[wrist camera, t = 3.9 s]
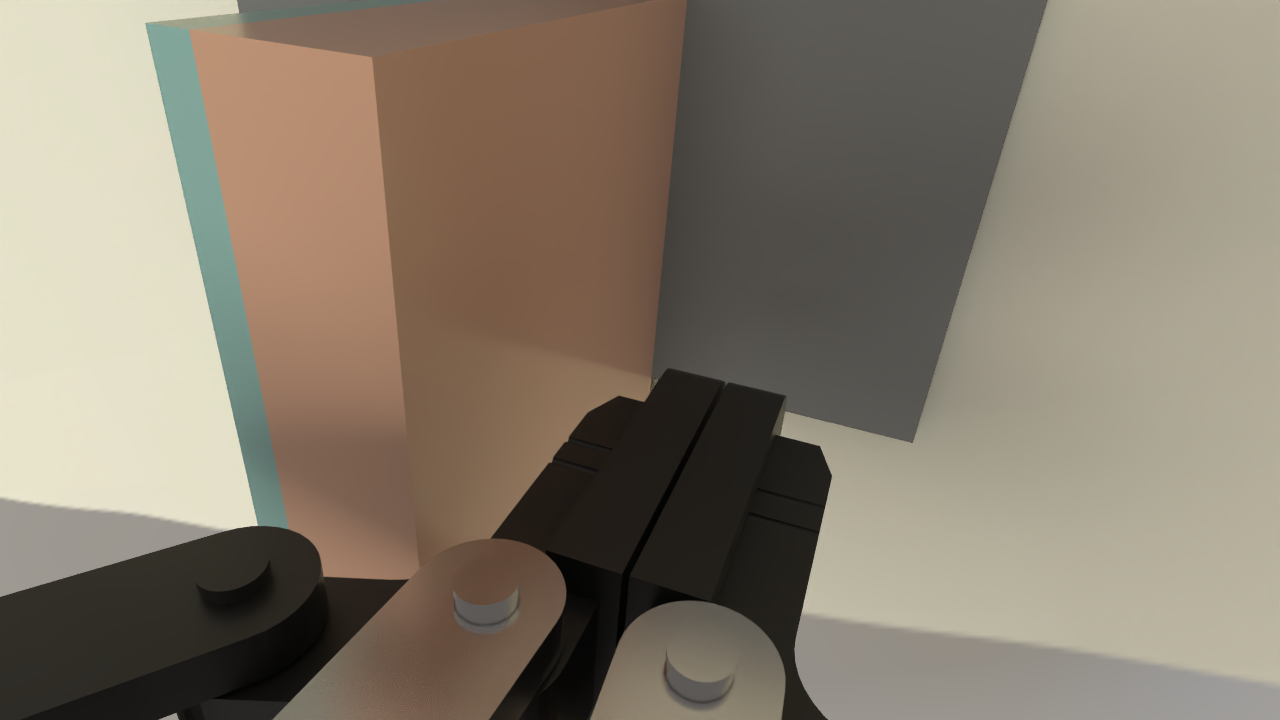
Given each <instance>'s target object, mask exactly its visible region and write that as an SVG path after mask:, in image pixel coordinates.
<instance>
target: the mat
mask: <svg viewBox="0 0 1280 720" xmlns="http://www.w3.org/2000/svg"><path fill="white" fill-rule="evenodd" d="M352 1H362V0H237V2H238V8H239V13H246V12H256V11H265V10H275V9H285V8H294V7H304V6H314V5H323V4H333V3H343V2H352ZM1046 3H1047V0H687V7H686V17H685V28H684V38H683V49H682V60H681V70H680V81H679V91H678V102H677V112H676V123H675V134H674V144H673V155H672V165H671V176H670V186H669V197H668V208H667V218H666V229H665V239H664V250H663V261H662V271H661V282H660V292H659V303H658V313H657V324H656V335H655V345H654V356H653V366H652V377H651V378H654V379H658V380H659V379H660V378H661V376H662V375H663V373H664V372H665V370H666V369H668V368H672V369H676V370H680V371H685V372H689V373H693V374H697V375H701V376H705V377H710V378H714V379H718V380H722V381H725V383H726V385H727V384H728V382H731V383H735V384H740V385H744V386H748V387H752V388H756V389H761V390H765V391H769V392H773V393H777V394H781V395H786V396H787V402H786V408H785V411H787V412H791V413H795V414H799V415H803V416H807V417H811V418H815V419H819V420H823V421H827V422H831V423H835V424H839V425H843V426H847V427H851V428H855V429H859V430H863V431H867V432H871V433H875V434H879V435H883V436H887V437H891V438H895V439H899V440H903V441H907V442H911V443H913V440H914V436H915V433H916V430H917V426H918V423H919V420H920V417H921V413H922V410H923V407H924V403H925V400H926V397H927V394H928V390H929V387H930V384H931V380H932V377H933V374H934V371H935V367H936V364H937V361H938V358H939V354H940V351H941V348H942V344H943V341H944V338H945V335H946V331H947V328H948V325H949V321H950V318H951V315H952V312H953V308H954V305H955V302H956V298H957V295H958V292H959V289H960V285H961V282H962V279H963V276H964V272H965V269H966V266H967V262H968V259H969V256H970V253H971V249H972V246H973V243H974V239H975V236H976V233H977V230H978V226H979V223H980V220H981V216H982V213H983V210H984V207H985V203H986V200H987V197H988V194H989V190H990V187H991V184H992V180H993V177H994V174H995V171H996V167H997V164H998V161H999V157H1000V154H1001V151H1002V148H1003V144H1004V141H1005V138H1006V134H1007V131H1008V128H1009V125H1010V121H1011V118H1012V115H1013V111H1014V108H1015V105H1016V102H1017V98H1018V95H1019V92H1020V89H1021V85H1022V82H1023V79H1024V75H1025V72H1026V69H1027V66H1028V62H1029V59H1030V56H1031V52H1032V49H1033V46H1034V43H1035V39H1036V36H1037V33H1038V29H1039V26H1040V23H1041V20H1042V16H1043V13H1044V10H1045V7H1046Z"/></svg>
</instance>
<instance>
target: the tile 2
mask: <svg viewBox="0 0 1280 720" xmlns="http://www.w3.org/2000/svg"><path fill="white" fill-rule="evenodd" d="M686 7H687V0H362V1H352V2H343V3H333V4H323V5H314V6H304V7H294V8H285V9H275V10H265V11H256V12H246V13H237V14H227V15H217V16H208V17H198V18H188V19H179V20H169V21H159V22H150V23H145V24H146V29H147V33H148V37H149V42H150V46H151V51H152V55H153V60H154V64H155V69H156V73H157V78H158V82H159V86H160V91H161V95H162V100H163V104H164V109H165V113H166V118H167V122H168V126H169V131H170V135H171V140H172V144H173V149H174V153H175V158H176V162H177V166H178V171H179V175H180V180H181V184H182V189H183V193H184V198H185V202H186V207H187V211H188V215H189V220H190V224H191V229H192V233H193V238H194V242H195V247H196V251H197V255H198V260H199V264H200V269H201V273H202V278H203V282H204V287H205V291H206V295H207V300H208V304H209V309H210V313H211V318H212V322H213V327H214V331H215V336H216V340H217V344H218V349H219V353H220V358H221V362H222V367H223V371H224V376H225V380H226V384H227V389H228V393H229V398H230V402H231V407H232V411H233V416H234V420H235V425H236V429H237V433H238V438H239V442H240V447H241V451H242V456H243V460H244V465H245V469H246V473H247V478H248V482H249V487H250V491H251V496H252V500H253V505H254V509H255V514H256V518H257V522H258V526H272V527H280V528H285V529H289V530H292V531H295V532H297V533H300V534H301V535H303V536H304V537H306V538H307V539H309V540H310V541H311V542H312V543H313V544H314V545H315V547H316V549H317V551H318V552H319V555H320V559H321V564H322V569H323V575H324V577H343V578H365V579H387V580H402V579H410V578H411V577H412V576H413V575H414V574H415V573H416V572H417V571H418V570H419V569H420V568H421V567H422V566H423V565H424V564H425V563H427V562H428V561H429V560H430V559H431V558H433V557H434V556H436V555H437V554H439V553H440V552H442V551H444V550H446V549H448V548H451V547H453V546H455V545H458V544H461V543H465V542H469V541H474V540H479V539H490V538H491V537H492V536H493V534H494V533H495V532H496V530H497V529H498V528H499V526H500V525H501V524H502V523H503V521H504V520H505V519H506V517H507V516H508V515H509V514H510V512H511V511H512V510H513V508H514V507H515V506H516V504H517V503H518V502H519V501H520V499H521V498H522V497H523V495H524V494H525V493H526V491H527V490H528V489H529V488H530V486H531V485H532V484H533V482H534V481H535V480H536V479H537V477H538V476H539V475H540V473H541V472H542V471H543V469H544V468H545V467H546V466H547V464H548V463H549V462H550V463H552V460H553V456H554V455H555V454H556V453H557V451H558V450H559V449H560V447H561V446H562V445H563V444H564V442H568V439H569V436H570V434H571V433H572V432H573V431H574V429H575V428H576V427H577V425H578V424H579V423H580V421H581V420H582V419H583V418H584V416H585V415H586V414H587V412H589V411H591V410H593V409H595V408H597V407H598V406H600V405H602V404H604V403H606V402H608V401H610V400H611V399H613V398H615V397H617V396H623V397H627V398H631V399H635V400H639V401H643V402H645V400H646V399H647V397H648V396H649V394H650V388H651V377H652V366H653V356H654V345H655V335H656V324H657V313H658V303H659V292H660V282H661V271H662V261H663V250H664V239H665V229H666V218H667V208H668V197H669V186H670V176H671V165H672V155H673V144H674V134H675V123H676V112H677V102H678V91H679V81H680V70H681V60H682V49H683V38H684V28H685V17H686Z"/></svg>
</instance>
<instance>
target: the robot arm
mask: <svg viewBox="0 0 1280 720" xmlns="http://www.w3.org/2000/svg"><path fill="white" fill-rule="evenodd" d="M786 402H787V396H786V395H781V394H777V393H773V392H769V391H765V390H761V389H756V388H752V387H748V386H744V385H740V384H735V383H731V382H728V384H727V385H726V383H725V381H722V380H718V379H714V378H710V377H705V376H701V375H697V374H693V373H689V372H685V371H680V370H676V369H672V368H668V369H666V370H665V372H664V373H663V375H662V376H661V378H660V379H659V381H658V382H657V384H656V385H655V387H654V388H653V390H652V391H651V393H650V394H649V396H648V397H647V399H646V400H645V402H643V401H639V400H635V399H631V398H627V397H623V396H617V397H615V398H613V399H611V400H610V401H608V402H606V403H604V404H602V405H600V406H598V407H597V408H595V409H593V410H591V411H589V412H587V414H586V415H585V416H584V418H583V419H582V420H581V421H580V423H579V424H578V425H577V427H576V428H575V429H574V431H573V432H572V433H571V434H570V436H569V439H568V442H564V444H563V445H562V446H561V447H560V449H559V450H558V451H557V453H556V454H555V455H554V456H553V460H552V463H550V462H549V463H548V464H547V466H546V467H545V468H544V469H543V471H542V472H541V473H540V475H539V476H538V477H537V479H536V480H535V481H534V482H533V484H532V485H531V486H530V488H529V489H528V490H527V491H526V493H525V494H524V495H523V497H522V498H521V499H520V501H519V502H518V503H517V504H516V506H515V507H514V508H513V510H512V511H511V512H510V514H509V515H508V516H507V517H506V519H505V520H504V521H503V523H502V524H501V525H500V526H499V528H498V529H497V530H496V532H495V533H494V534H493V536H492V537H491V538H490V539H479V540H474V541H469V542H465V543H461V544H458V545H455V546H453V547H451V548H448V549H446V550H444V551H442V552H440V553H439V554H437V555H436V556H434V557H433V558H431V559H430V560H429V561H428V562H427V563H425V564H424V565H423V566H422V567H421V568H420V569H419V570H418V571H417V572H416V573H415V574H414V575H413V576H412V577H411V578H410V579H402V580H387V579H365V578H343V577H324V575H323V569H322V564H321V559H320V555H319V552H318V551H317V549H316V547H315V545H314V544H313V543H312V542H311V541H310V540H309V539H307V538H306V537H304V536H303V535H301V534H300V533H297V532H295V531H292V530H289V529H285V528H280V527H272V526H251V527H244V528H237V529H233V530H229V531H224V532H221V533H217V534H214V535H211V536H207V537H204V538H201V539H197V540H193V541H190V542H187V543H183V544H180V545H176V546H173V547H170V548H166V549H163V550H160V551H156V552H152V553H149V554H146V555H142V556H139V557H135V558H132V559H129V560H126V561H122V562H119V563H115V564H112V565H108V566H104V567H101V568H98V569H95V570H91V571H87V572H84V573H81V574H77V575H74V576H70V577H67V578H64V579H60V580H57V581H53V582H50V583H46V584H43V585H40V586H36V587H33V588H29V589H26V590H23V591H19V592H16V593H12V594H9V595H6V596H2V597H0V720H159V719H161V718H163V717H166V716H169V715H172V714H174V713H177V716H178V718H179V720H828V719H827V718H825V716H823V714H822V713H821V712H820V711H819V710H818V708H817V707H816V706H815V705H814V703H813V702H812V700H811V699H810V697H809V696H808V694H807V692H806V691H805V689H804V687H803V684H802V682H801V680H800V678H799V675H798V671H797V668H796V663H795V653H794V648H795V639H796V634H797V630H798V625H799V621H800V616H801V612H802V608H803V603H804V599H805V594H806V590H807V585H808V581H809V576H810V572H811V567H812V563H813V559H814V554H815V550H816V545H817V541H818V536H819V532H820V527H821V523H822V518H823V514H824V509H825V505H826V501H827V496H828V492H829V487H830V483H831V478H832V475H831V473H830V470H829V468H828V465H827V463H826V460H825V458H824V455H823V453H822V450H821V448H820V446H817V445H813V444H809V443H805V442H801V441H797V440H793V439H789V438H785V437H782V436H780V434H781V429H782V424H783V419H784V414H785V408H786Z"/></svg>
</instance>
